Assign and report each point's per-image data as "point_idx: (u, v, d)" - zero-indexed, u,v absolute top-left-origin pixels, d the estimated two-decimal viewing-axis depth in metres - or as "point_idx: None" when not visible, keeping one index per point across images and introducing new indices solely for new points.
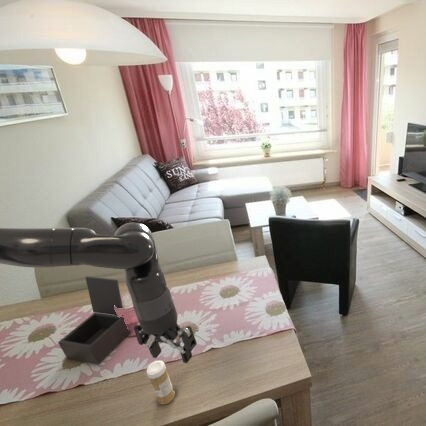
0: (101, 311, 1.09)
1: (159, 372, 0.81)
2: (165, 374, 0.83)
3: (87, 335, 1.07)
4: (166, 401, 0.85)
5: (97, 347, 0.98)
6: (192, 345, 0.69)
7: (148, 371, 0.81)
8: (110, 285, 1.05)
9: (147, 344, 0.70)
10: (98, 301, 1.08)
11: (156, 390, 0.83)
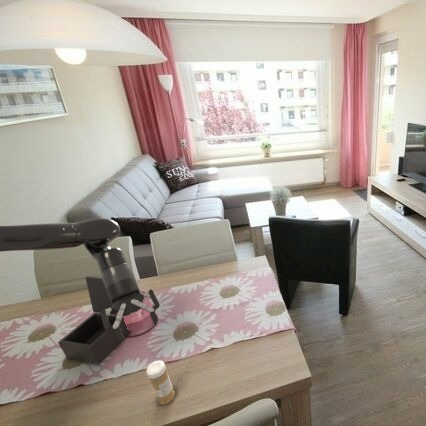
0: None
1: (159, 372, 0.81)
2: (165, 374, 0.83)
3: (87, 335, 1.07)
4: (166, 401, 0.85)
5: (97, 347, 0.98)
6: None
7: (148, 371, 0.81)
8: None
9: (115, 324, 0.83)
10: (98, 301, 1.08)
11: (156, 390, 0.83)
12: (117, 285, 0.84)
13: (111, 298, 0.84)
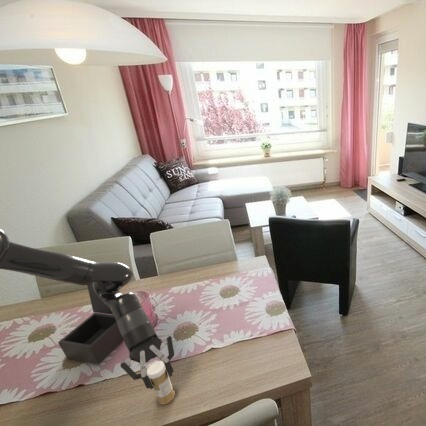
0: (101, 311, 1.09)
1: (159, 372, 0.81)
2: (165, 374, 0.83)
3: (87, 335, 1.07)
4: (166, 401, 0.85)
5: (97, 347, 0.98)
6: None
7: (148, 371, 0.81)
8: None
9: (142, 373, 0.81)
10: (98, 301, 1.08)
11: (156, 390, 0.83)
12: (135, 332, 0.82)
13: (129, 346, 0.81)
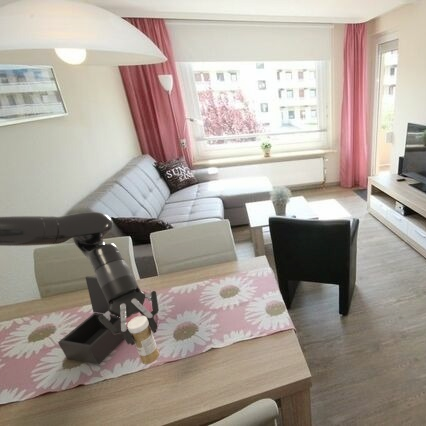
0: (101, 311, 1.09)
1: (141, 327, 0.74)
2: (148, 330, 0.76)
3: (87, 335, 1.07)
4: (149, 360, 0.79)
5: (97, 347, 0.98)
6: None
7: (129, 325, 0.74)
8: None
9: (122, 327, 0.74)
10: (98, 301, 1.08)
11: (138, 347, 0.76)
12: (115, 283, 0.75)
13: (108, 298, 0.74)
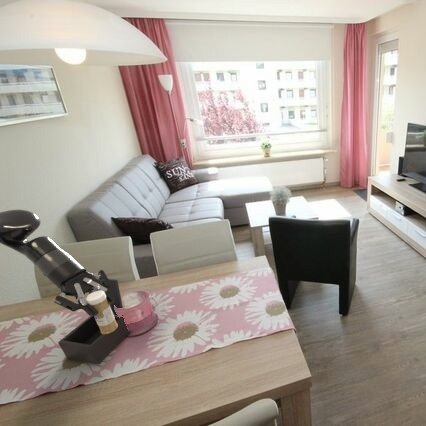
0: None
1: (101, 297, 0.85)
2: (107, 301, 0.87)
3: (87, 335, 1.07)
4: (111, 329, 0.89)
5: (97, 347, 0.98)
6: None
7: (89, 299, 0.83)
8: None
9: (82, 302, 0.83)
10: None
11: (99, 318, 0.86)
12: (64, 267, 0.82)
13: (60, 281, 0.81)
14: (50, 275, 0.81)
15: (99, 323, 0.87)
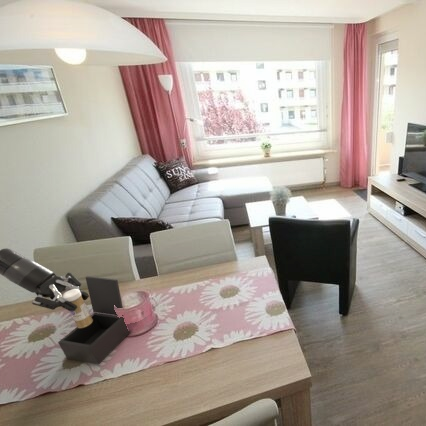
0: (101, 311, 1.09)
1: (78, 293, 0.95)
2: None
3: (87, 335, 1.07)
4: (88, 322, 0.99)
5: (97, 347, 0.98)
6: None
7: (66, 296, 0.93)
8: (110, 285, 1.05)
9: (60, 299, 0.92)
10: (98, 301, 1.08)
11: (77, 313, 0.96)
12: (36, 271, 0.90)
13: (35, 285, 0.90)
14: (23, 281, 0.89)
15: (77, 318, 0.97)
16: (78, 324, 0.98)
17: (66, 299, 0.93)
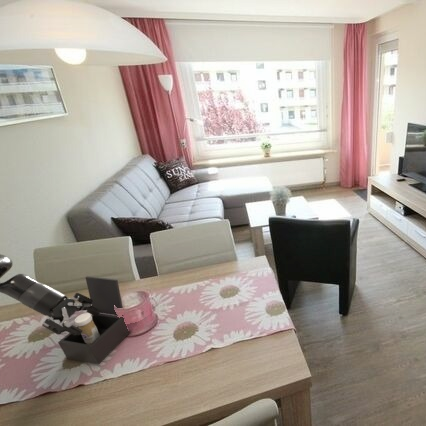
0: (101, 311, 1.09)
1: (89, 317, 1.00)
2: (92, 321, 1.02)
3: None
4: None
5: (97, 347, 0.98)
6: None
7: (78, 321, 0.98)
8: (110, 285, 1.05)
9: (66, 324, 0.95)
10: (98, 301, 1.08)
11: (89, 336, 1.01)
12: (49, 296, 0.94)
13: (48, 308, 0.94)
14: (37, 305, 0.93)
15: (88, 341, 1.01)
16: None
17: (78, 324, 0.98)
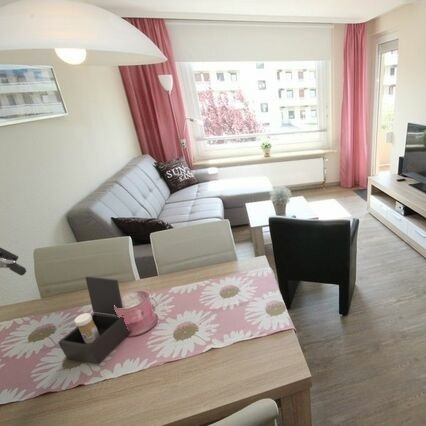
0: (101, 311, 1.09)
1: (89, 317, 1.00)
2: (92, 321, 1.02)
3: None
4: None
5: (97, 347, 0.98)
6: None
7: (78, 321, 0.98)
8: (110, 285, 1.05)
9: None
10: (98, 301, 1.08)
11: (89, 336, 1.01)
12: None
13: None
14: None
15: (88, 341, 1.01)
16: None
17: (78, 324, 0.98)
